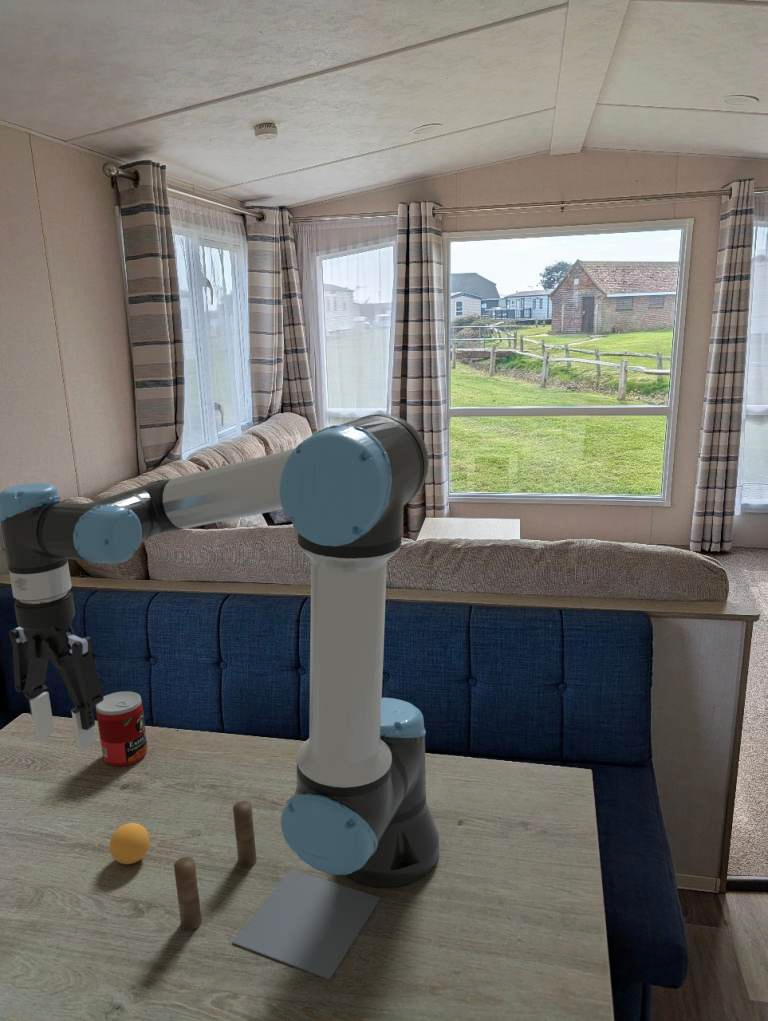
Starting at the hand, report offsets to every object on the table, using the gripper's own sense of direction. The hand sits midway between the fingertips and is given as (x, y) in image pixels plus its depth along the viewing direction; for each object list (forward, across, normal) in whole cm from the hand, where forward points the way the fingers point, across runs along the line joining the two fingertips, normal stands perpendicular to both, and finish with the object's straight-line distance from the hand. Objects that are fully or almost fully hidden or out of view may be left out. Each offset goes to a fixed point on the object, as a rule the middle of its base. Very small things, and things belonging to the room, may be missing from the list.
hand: (65, 741), depth 111 cm
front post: (+17, +26, -6) cm, 32 cm away
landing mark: (+17, +40, 0) cm, 44 cm away
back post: (+17, +26, +6) cm, 32 cm away
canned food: (+17, -11, +21) cm, 29 cm away
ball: (+14, +10, 0) cm, 18 cm away
